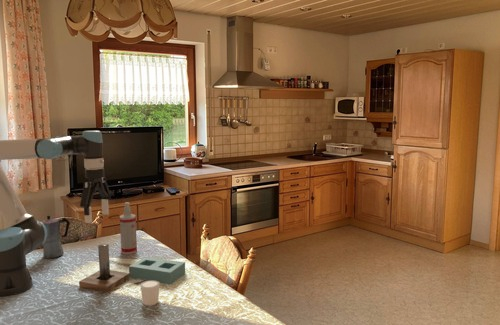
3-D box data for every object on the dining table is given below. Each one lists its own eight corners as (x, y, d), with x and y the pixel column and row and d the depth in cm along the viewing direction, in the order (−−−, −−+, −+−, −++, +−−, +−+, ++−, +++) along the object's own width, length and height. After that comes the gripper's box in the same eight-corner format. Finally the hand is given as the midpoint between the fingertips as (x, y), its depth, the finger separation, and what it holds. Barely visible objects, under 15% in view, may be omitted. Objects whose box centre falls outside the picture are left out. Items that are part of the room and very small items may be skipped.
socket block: (108, 292, 164) (107, 286, 164) (79, 287, 169) (79, 281, 169) (130, 278, 177) (129, 273, 177) (102, 274, 182) (102, 268, 182)
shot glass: (152, 295, 161) (151, 278, 160) (163, 301, 157) (163, 283, 156) (137, 302, 156) (136, 284, 155) (148, 307, 152) (148, 289, 151)
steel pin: (106, 285, 171) (104, 247, 168) (98, 284, 172) (96, 246, 170) (112, 281, 174) (110, 244, 172) (104, 280, 176) (102, 243, 174)
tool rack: (170, 284, 172) (170, 272, 171) (129, 277, 179) (129, 266, 178) (185, 273, 183) (184, 262, 182) (145, 267, 190) (145, 256, 189)
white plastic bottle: (121, 249, 213) (119, 201, 210) (136, 248, 215) (134, 200, 212) (121, 254, 206) (119, 204, 202) (137, 253, 208) (135, 203, 205)
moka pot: (37, 254, 206) (34, 214, 204) (71, 250, 213) (68, 211, 210) (36, 261, 198) (33, 219, 195) (71, 256, 204) (69, 215, 202)
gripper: (86, 173, 161) (89, 227, 164) (117, 164, 186) (119, 211, 188) (68, 172, 162) (71, 226, 165) (101, 164, 187) (104, 210, 190)
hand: (97, 218), depth 177 cm, fingers open, 13 cm apart
